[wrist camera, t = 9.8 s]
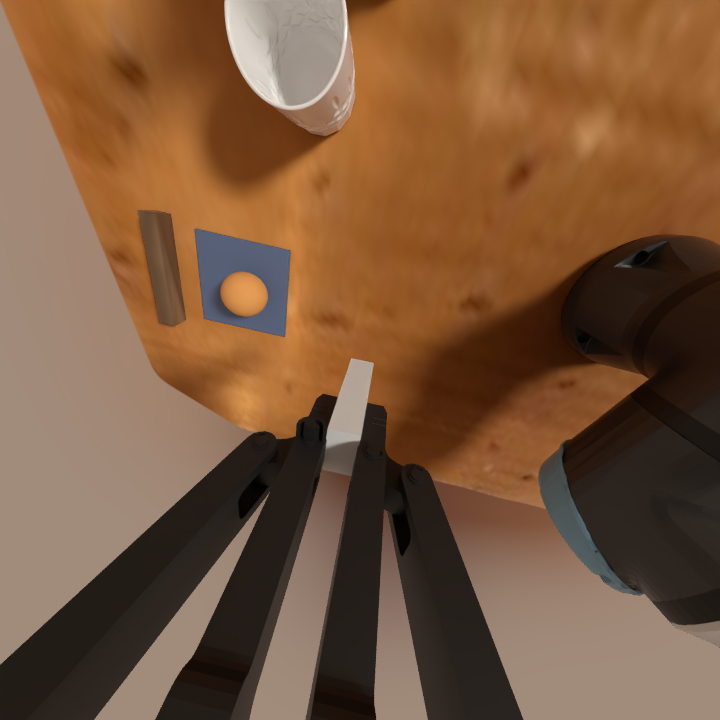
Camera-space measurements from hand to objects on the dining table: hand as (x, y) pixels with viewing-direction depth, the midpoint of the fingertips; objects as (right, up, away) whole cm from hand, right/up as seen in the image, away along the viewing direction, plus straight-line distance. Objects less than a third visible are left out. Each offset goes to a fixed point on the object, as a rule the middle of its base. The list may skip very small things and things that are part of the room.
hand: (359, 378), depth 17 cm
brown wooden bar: (-25, +13, +18) cm, 34 cm away
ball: (-15, +9, +15) cm, 23 cm away
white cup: (-4, +27, +8) cm, 29 cm away
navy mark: (-16, +11, +18) cm, 26 cm away
